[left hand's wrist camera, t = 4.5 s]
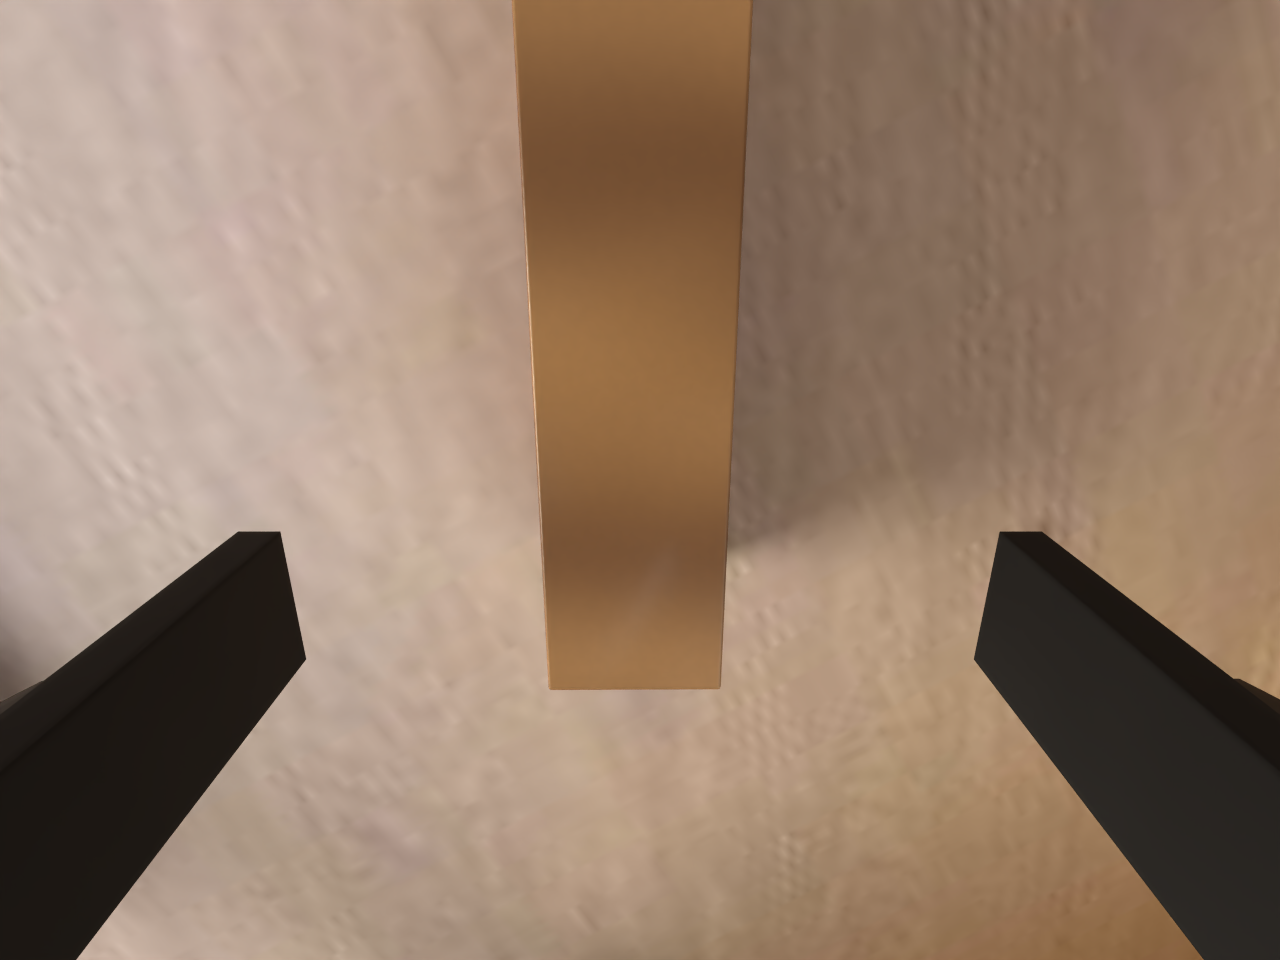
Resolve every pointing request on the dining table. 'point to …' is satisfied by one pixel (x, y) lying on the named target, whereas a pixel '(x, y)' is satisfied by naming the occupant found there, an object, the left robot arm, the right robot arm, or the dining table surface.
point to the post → (633, 325)
